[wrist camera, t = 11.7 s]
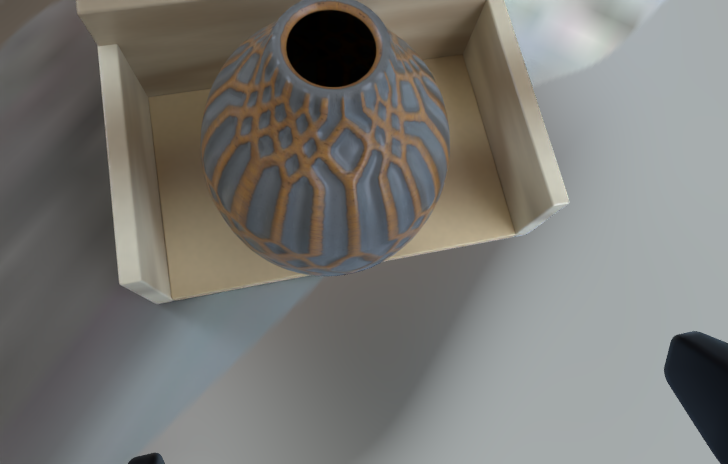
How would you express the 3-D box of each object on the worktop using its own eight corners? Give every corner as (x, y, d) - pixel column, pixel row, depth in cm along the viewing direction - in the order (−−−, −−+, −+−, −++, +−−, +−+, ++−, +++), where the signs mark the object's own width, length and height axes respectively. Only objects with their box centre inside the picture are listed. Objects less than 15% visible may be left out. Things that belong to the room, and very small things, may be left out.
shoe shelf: (527, 234, 20) (596, 185, 15) (155, 304, 18) (96, 273, 13) (468, 36, 22) (510, -63, 17) (131, 80, 20) (73, -16, 15)
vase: (460, 187, 19) (568, 34, 11) (337, 336, 18) (357, 289, 9) (314, 74, 20) (312, -149, 12) (182, 205, 18) (69, 53, 10)
